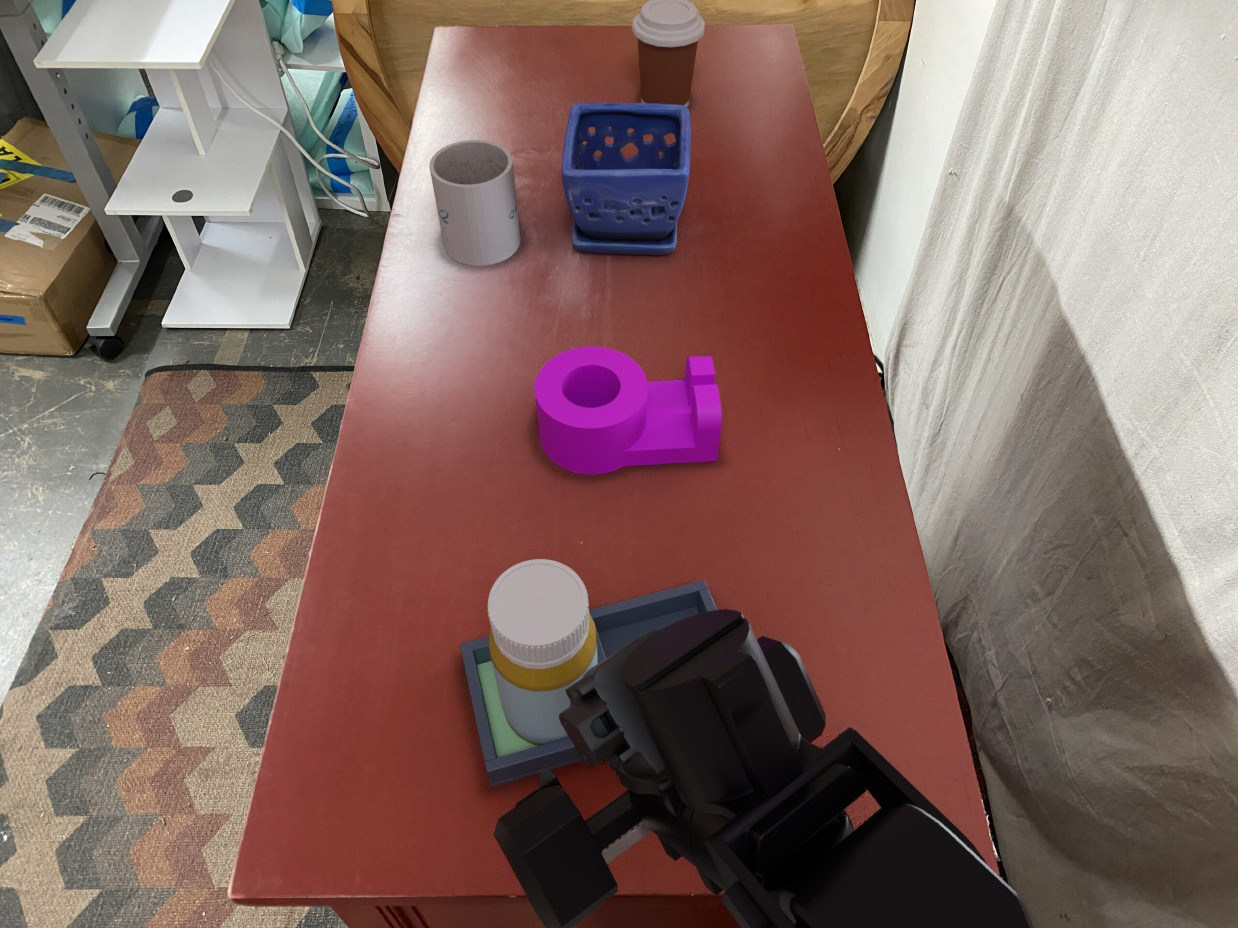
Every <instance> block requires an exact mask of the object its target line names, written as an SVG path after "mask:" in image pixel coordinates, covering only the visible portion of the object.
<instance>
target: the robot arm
mask: <svg viewBox="0 0 1238 928" xmlns="http://www.w3.org/2000/svg"><path fill="white" fill-rule="evenodd" d="M565 691H566V694H567V696H568V698H569V699H570V706H569V707H568V708H567V709H566V710H564V711H563V712H561V713H560V714H559V720H560V722H561V725H562V726H563V728H564V730H565V731H566V733H567V735H568V736H569V738H570V740H571V741H572V743H573V745H574V746H575V748H576V750H577V751H578V753H579V755H580V756H581V758H582V759H583V761H582V762H584V763H585V765H586V766H589V767H595V766H597V765H599V764H600V763H602V762H603V761H605V762H606V763H607V764H608V766H609V767H610V769H611V770H612V771H613V772H614V773H615V775H616V777H617V779H618V782H619V783H620V785H622V786H623V788H625V789H626V790H625V791H624V792H622V793H620V795H618V796H616V798H614V799H612V800H611V801H610V802H608V803H607V804H605V806H603V807H602V808H600V809H599V810H597V811H596V812H595V813H593V814H592V815H590V816H589V817H588V818H586V819H584V816H583V814H582V812H581V811H580V809H579V808H578V807H577V806H576V804H575V803H574V801H573V800H572V798H571V797H570V795H569V793H568V792H567V791H566V790H565V789H564V788H563V785H562V784H561V782H560V780H559V777H558V776H557V775H554V774H553V772H552V770H550V771H549V770H547V769H546V768H544V769H542V770H541V771H540V772H539V774H538V775H539V776H538V777H539V779H538V782H539V783H538V784H539V785H538V786H539V787H537V788H536V789H535V790H533V791H532V792H530V793H528V794H527V795H526V796H525V797H523V798H521V799H520V800H519V801H518V802H516V804H515V805H514V807H513V808H511V809H510V810H509V811H507V812H506V813H504V814H503V815H501V816H500V817H499V818H497V820H496V825H495V828H494V832H493V836H494V838H495V840H496V842H497V844H498V846H499V848H500V850H501V851H502V853H503V855H504V857H505V859H506V861H507V862H508V865H509V866H510V868H511V870H512V872H513V874H514V875H515V877H516V879H517V881H518V883H519V885H520V886H521V889H522V890H523V892H524V894H525V896H526V898H527V899H528V901H529V903H530V905H531V907H532V909H533V911H534V912H535V914H536V916H537V917H538V919H539V920H540V922H541V923H542V924H543V926H544V927H545V928H573V927H574V926H575V925H577V924H578V923H579V922H580V921H581V920H583V919H584V918H586V917H587V916H588V915H590V914H591V913H593V911H595V910H596V909H598V908H599V907H600V906H601V905H602V904H604V903H605V902H606V901H608V900H609V899H611V898H612V897H613V896H615V894H617V893H618V892H619V885H618V883H617V880H616V878H615V876H614V874H613V873H612V871H611V868H610V867H609V864H611V863H612V862H614V861H615V860H616V859H617V858H619V857H621V855H623V854H624V853H626V852H627V851H628V850H629V849H631V848H632V847H633V846H636V844H637V843H639V842H640V841H641V840H643V839H644V838H645V837H647V836H648V835H649V834H651V833H653V834H654V835H656V837H657V838H658V840H659V842H660V844H661V846H662V848H663V850H664V852H665V854H666V855H667V856H668V857H669V858H671V859H672V860H673V861H674V862H677V861H678V860H679V859H681V858H682V857H683V858H684V859H685V860H686V861H688V863H690V864H691V865H693V866H694V867H695V868H696V871H697V872H698V875H699V877H700V878H701V880H702V883H703V885H704V887H705V888H706V889H707V890H708V891H710V892H711V893H712V894H713V895H714V896H715V897H717V896H719V895H720V894H721V893H722V892H723V894H722V896H721V898H720V900H721V901H722V903H723V904H724V906H725V907H726V909H727V910H728V911H729V913H730V914H731V915H732V917H733V919H734V920H735V921H736V922H737V924H738V926H739V927H740V928H1035V926H1034V924H1033V921H1032V919H1031V917H1030V914H1029V912H1028V910H1027V906H1026V905H1025V903H1024V900H1023V899H1022V897H1021V896H1020V895H1019V894H1018V893H1017V891H1016V890H1015V889H1014V888H1012V887H1011V885H1010V884H1008V882H1006V881H1005V880H1004V879H1003V878H1002V877H1000V875H998V873H996V872H995V871H994V870H993V869H992V868H991V867H990V866H989V865H988V864H987V862H986V860H985V858H984V857H983V856H982V854H981V853H980V851H979V850H978V849H977V847H976V846H975V845H974V844H973V842H972V841H971V840H970V839H969V838H968V837H967V836H966V834H964V833H963V832H962V831H961V830H960V829H959V827H957V826H956V825H955V824H954V823H953V822H952V821H951V820H950V819H949V818H948V817H947V816H946V815H945V814H944V813H943V812H942V811H940V809H938V808H937V807H936V806H935V804H933V803H932V802H931V801H930V800H929V798H927V797H926V796H925V795H924V794H923V793H922V792H921V791H920V790H919V789H917V787H915V786H914V784H912V783H911V782H910V781H909V780H908V778H906V777H905V776H904V775H903V774H902V773H901V772H900V770H898V768H896V767H895V766H894V765H893V764H892V763H890V762H889V761H888V760H887V758H885V757H884V756H883V755H882V754H881V753H880V752H879V751H878V750H877V749H876V748H875V747H874V746H873V745H871V744H870V742H868V740H867V739H865V738H864V736H863V735H861V734H860V733H859V732H858V731H857V730H856V729H855V728H853V727H852V726H851V727H848V728H846V729H845V730H843V731H842V732H841V733H840V734H839V735H836V737H835V738H834V739H832V740H831V741H830V742H828V743H827V744H826V745H824V746H823V747H821V746H818V745H816V744H814V743H813V742H815V741H816V740H817V739H818V738H820V737H821V736H822V735H823V733H824V731H825V728H826V725H827V724H826V723H827V721H826V712H825V710H824V707H823V705H822V703H821V701H820V698H819V695H818V694H817V692H816V689H815V688H814V685H813V683H812V680H811V677H810V676H809V674H808V671H807V669H806V667H805V665H804V662H803V660H802V658H801V656H800V654H799V653H798V652H797V651H796V650H795V649H794V647H792V645H790V643H787V642H785V641H781V640H777V639H773V638H770V637H768V636H763V635H761V636H759V637H758V638H757V637H756V634H755V632H754V630H753V629H752V626H751V624H750V621H748V619H746V617H745V616H744V614H743V613H742V612H741V611H739V610H736V609H727V608H722V609H717V610H712V611H708V612H703V613H699V614H696V615H693V616H690V617H687V618H684V619H682V620H680V621H677V622H675V623H673V624H671V625H669V626H667V627H665V628H663V629H662V630H654V631H651V632H649V633H647V634H645V635H643V636H641V637H639V638H638V639H636V640H634V641H632V642H630V643H629V644H627V645H626V646H625V647H623V648H621V649H620V650H618V651H617V652H615V653H614V654H612V655H611V656H609V657H608V658H606V659H605V660H603V661H602V662H600V663H598V664H597V665H595V666H594V667H592V668H591V669H589V670H588V671H587V672H586V673H585V674H584V676H583V678H582V679H581V680H579V681H577V682H576V683H574V684H573V685H571V686H570V687H569V688H567V689H566V690H565ZM866 792H868V793H869V794H870V795H871V796H872V798H873V799H874V800H875V802H876V803H877V804H878V806H879V807H880V808H879V809H878V810H877V811H875V812H874V813H873V814H872V815H870V816H869V818H867V819H866V820H865V821H863V822H862V823H861V824H860V825H858V827H856V828H855V827H854V825H853V822H852V819H851V818H850V816H849V814H848V812H847V811H846V809H848V807H849V806H851V805H852V804H853V803H854V802H856V801H857V800H858V799H859V798H860V797H862V796H863V795H864V794H865V793H866Z"/></svg>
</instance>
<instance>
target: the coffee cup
mask: <svg viewBox="0 0 1238 928" xmlns="http://www.w3.org/2000/svg"><path fill="white" fill-rule="evenodd" d="M698 11H699V10H698V8H697V6H696V5H695V4H694V3H693V2H691V1H690V0H648V1H646V2H645V3H644V4H643V5H642V6H641V8H640V12H639V13H638V14H637V15H635V16H634V17H633V20H632V23H631V24H632V25H631V31H632V33H633V34H634V37H635V38H636V39H637V52H638V67H639V68H638V69H639V83H640V84H639V85H640V103H649V104H674V105H684V106H686V107H687V108H688V106H689V105H690V98H691V97H690V96H691V90H692V83H693V77H694V70H695V64H696V63H695V62H696V56H697V49H698V43H699V40H701V38H703V37H704V35H705V30H706V22H705V20H704V19H703V18H702V16H701V15H700V14H699V13H698Z"/></svg>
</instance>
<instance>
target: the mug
mask: <svg viewBox="0 0 1238 928" xmlns="http://www.w3.org/2000/svg"><path fill="white" fill-rule="evenodd" d="M513 161H514V160H513V157H512V154H511V153H510V151H509V150H508V149H507V148H506V147H504V146H503V145H500V144H499V143H496V142H493V141H489V140H482V139H469V140H461V141H456V142H453V143H450V144H447V145H445V146H444V147H442V148H440V149H439V150H437V151H436V152H435V153H434V154H433V155H432V157H431V158H430V161H429V166H428V167H429V172H430V177H431V183H432V189H433V193H434V199H435V205H436V210H437V211H436V212H437V217H438V221H439V226H440V232H441V238H442V243H443V248H444V251H445V253H446V254H447V255H448V256H449V258H450V259H452V260H453V261H455V262H456V263H460V264H463V265H466V266H473V267H486V266H493V265H495V264H499V263H501V262H504V261H506V260H508V259H509V258H511V257H512V256H513V255H514V254H515V253H516V252H517V251H518V250H519V247H520V245H521V239H522V237H521V230H520V221H519V220H520V219H519V209H518V199H517V190H516V182H515V181H516V180H515V171H514V162H513Z"/></svg>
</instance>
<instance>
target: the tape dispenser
mask: <svg viewBox="0 0 1238 928" xmlns="http://www.w3.org/2000/svg"><path fill="white" fill-rule="evenodd" d="M715 380H716V370H715V366H714V360H713V357H712V356H711V355H698V356H696V355H695V356H686V359H685V368H684V379H672V380H655V381H654V380H653V381H651V380H650V381H648V380H647V375H646V374H645V372H644V370H643V369H642V367H641V365H639V363H637V362H636V361H635V360H634V359H633V358H632V357H630V356H629V355H627V354H626V353H624V352H621V351H619V350H616V349H613V348H609V347H604V346H603V347H602V346H581V347H576V348H571V349H568V350H565V351H563V352H560V353H559V354H556V355H555V356H553V357H552V358H550V359H549V360H548V361H547V362H546V363H545V364H544V365H543V366H542V367H541V368H540V370H539V371H538V373H537V376H536V378H535V382H534V396H535V397H534V398H535V408H536V417H537V427H538V437H539V443H540V446H541V449H542V450H543V452H544V454H545V455H546V456H547V457H548V459H549V460H550V461H551V462H552V463H554V464H555V465H557V466H558V467H560V468H561V469H563V470H566V471H568V472H572V473H576V474H582V475H590V476H591V475H603V474H609V473H612V472H614V471H618V470H620V469H623V468H624V467H633V466H651V465H654V466H655V465H669V464H670V465H671V464H687V463H705V462H718V458H719V457H718V455H719V447H720V441H721V435H722V434H721V432H722V425H723V424H722V422H723V421H722V420H723V419H722V418H723V417H722V414H723V413H722V403H721V396H720V392H719V387H718V386H719V385H718V384H716V383H715Z"/></svg>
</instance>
